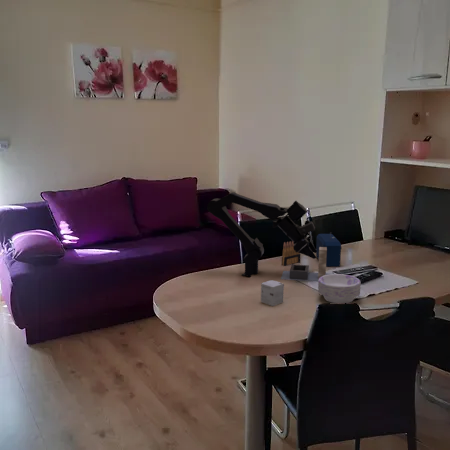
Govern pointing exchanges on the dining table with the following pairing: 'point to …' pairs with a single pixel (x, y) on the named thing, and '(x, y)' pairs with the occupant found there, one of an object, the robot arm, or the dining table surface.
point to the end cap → (299, 272)
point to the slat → (322, 261)
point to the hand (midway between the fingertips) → (315, 255)
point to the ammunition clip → (289, 255)
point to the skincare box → (272, 292)
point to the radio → (329, 249)
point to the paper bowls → (339, 288)
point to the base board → (310, 278)
